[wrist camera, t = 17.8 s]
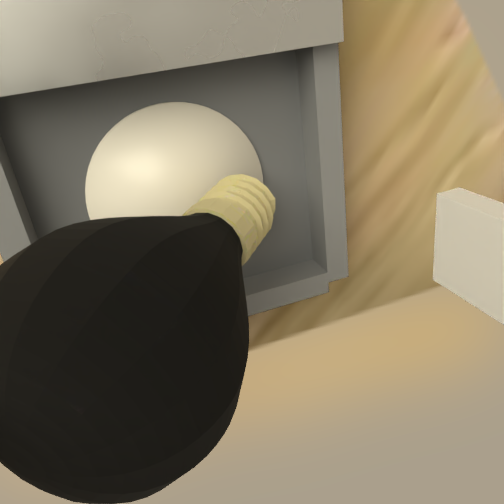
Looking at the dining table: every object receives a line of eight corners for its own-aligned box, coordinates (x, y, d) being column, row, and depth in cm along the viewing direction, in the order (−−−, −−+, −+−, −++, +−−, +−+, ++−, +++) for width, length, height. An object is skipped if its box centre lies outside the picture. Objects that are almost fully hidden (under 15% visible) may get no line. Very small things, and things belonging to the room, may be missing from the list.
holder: (53, 337, 21) (49, 375, 18) (-163, -226, 13) (-219, -288, 10) (322, 262, 24) (348, 286, 21) (287, -231, 16) (323, -281, 13)
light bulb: (182, 254, 22) (-44, 495, 12) (164, 106, 18) (-178, 291, 9) (326, 286, 19) (184, 607, 10) (339, 125, 16) (134, 399, 6)
